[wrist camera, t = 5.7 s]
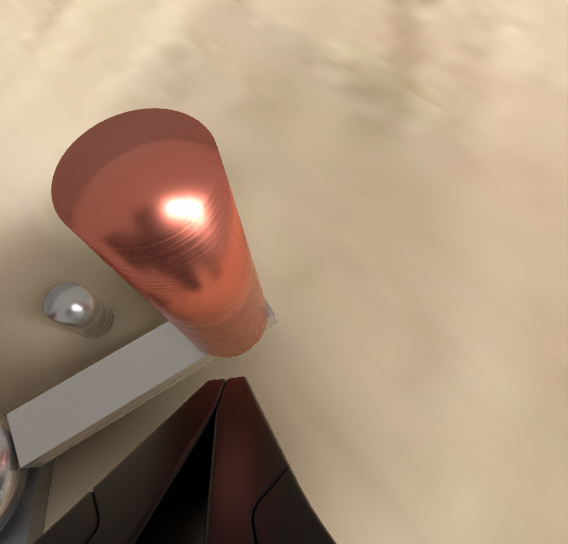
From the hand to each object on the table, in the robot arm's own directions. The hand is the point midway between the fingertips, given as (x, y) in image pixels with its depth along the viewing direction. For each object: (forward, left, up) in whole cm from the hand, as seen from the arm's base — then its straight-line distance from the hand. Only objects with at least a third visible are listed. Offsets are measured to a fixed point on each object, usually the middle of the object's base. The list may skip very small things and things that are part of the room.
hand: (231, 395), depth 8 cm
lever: (-4, +7, -6) cm, 10 cm away
